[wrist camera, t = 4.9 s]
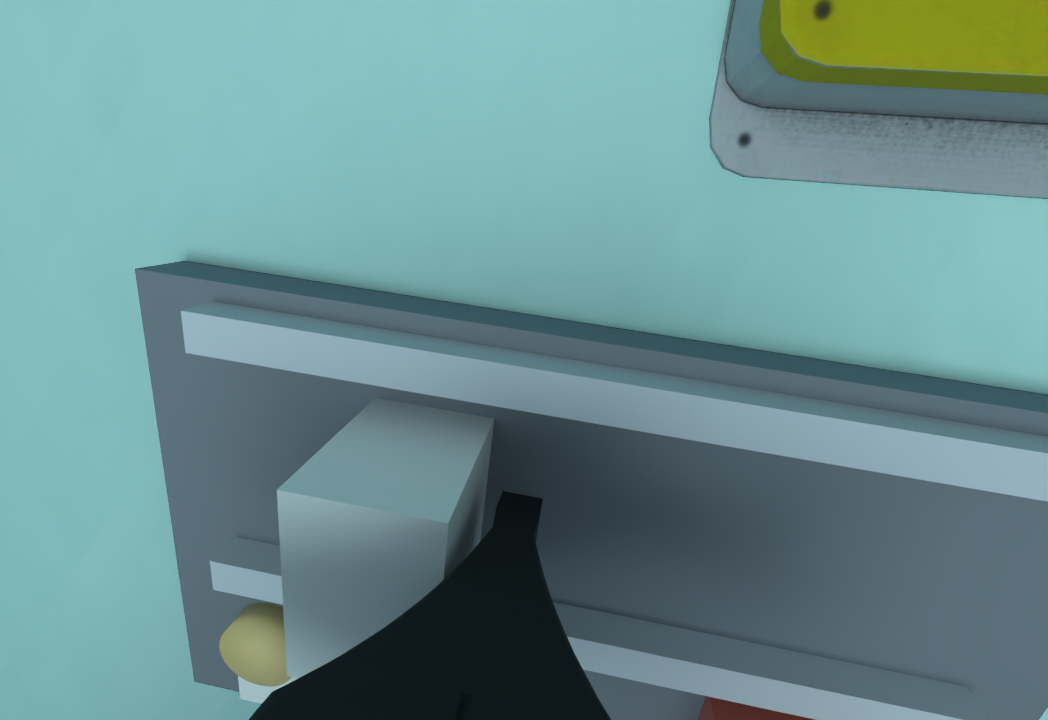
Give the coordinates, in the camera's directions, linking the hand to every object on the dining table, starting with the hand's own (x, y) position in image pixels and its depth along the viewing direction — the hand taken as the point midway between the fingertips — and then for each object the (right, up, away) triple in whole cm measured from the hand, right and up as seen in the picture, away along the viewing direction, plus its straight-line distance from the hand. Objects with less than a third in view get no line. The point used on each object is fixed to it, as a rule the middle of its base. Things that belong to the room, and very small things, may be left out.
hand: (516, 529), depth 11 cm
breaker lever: (-2, +1, +1) cm, 3 cm away
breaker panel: (+2, -2, +3) cm, 4 cm away
